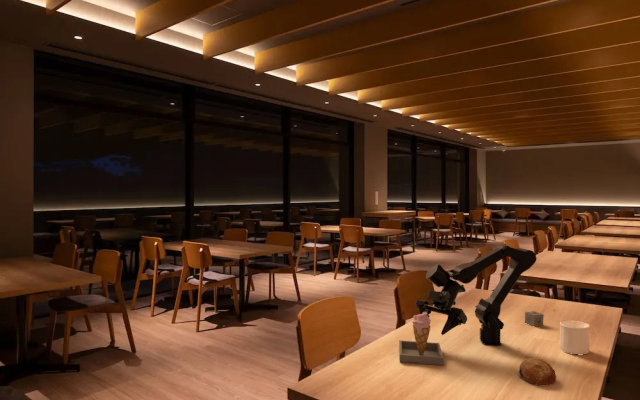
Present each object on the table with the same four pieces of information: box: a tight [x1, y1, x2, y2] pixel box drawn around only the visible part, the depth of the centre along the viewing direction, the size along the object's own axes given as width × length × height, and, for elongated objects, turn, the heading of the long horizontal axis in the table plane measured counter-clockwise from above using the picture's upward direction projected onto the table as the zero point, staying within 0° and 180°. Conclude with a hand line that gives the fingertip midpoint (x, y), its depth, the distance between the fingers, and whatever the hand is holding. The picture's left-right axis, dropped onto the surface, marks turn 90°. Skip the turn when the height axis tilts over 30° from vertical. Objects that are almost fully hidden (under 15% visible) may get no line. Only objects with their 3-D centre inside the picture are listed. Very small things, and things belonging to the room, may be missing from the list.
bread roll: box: [518, 357, 557, 386], centre depth 131 cm, size 10×10×8 cm
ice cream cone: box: [411, 312, 432, 355], centre depth 148 cm, size 7×6×15 cm
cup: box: [559, 319, 591, 355], centre depth 154 cm, size 10×10×10 cm
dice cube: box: [524, 310, 544, 327], centre depth 185 cm, size 5×5×5 cm
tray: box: [398, 340, 444, 367], centre depth 148 cm, size 14×14×2 cm
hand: (430, 331), depth 152 cm, fingers open, 9 cm apart
